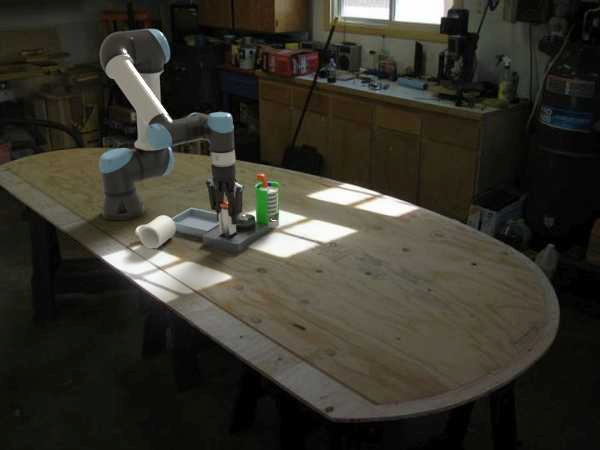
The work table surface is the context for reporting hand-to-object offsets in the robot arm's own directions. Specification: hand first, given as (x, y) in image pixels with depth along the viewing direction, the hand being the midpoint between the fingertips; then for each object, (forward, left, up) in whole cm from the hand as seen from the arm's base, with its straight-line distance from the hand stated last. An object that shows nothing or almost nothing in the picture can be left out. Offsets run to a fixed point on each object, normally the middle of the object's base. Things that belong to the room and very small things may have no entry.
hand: (227, 231), depth 197 cm
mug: (-23, -11, -4) cm, 26 cm away
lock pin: (0, 0, -4) cm, 4 cm away
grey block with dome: (0, +4, -4) cm, 6 cm away
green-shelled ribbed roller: (+3, +19, -4) cm, 20 cm away
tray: (-17, +6, -4) cm, 19 cm away
